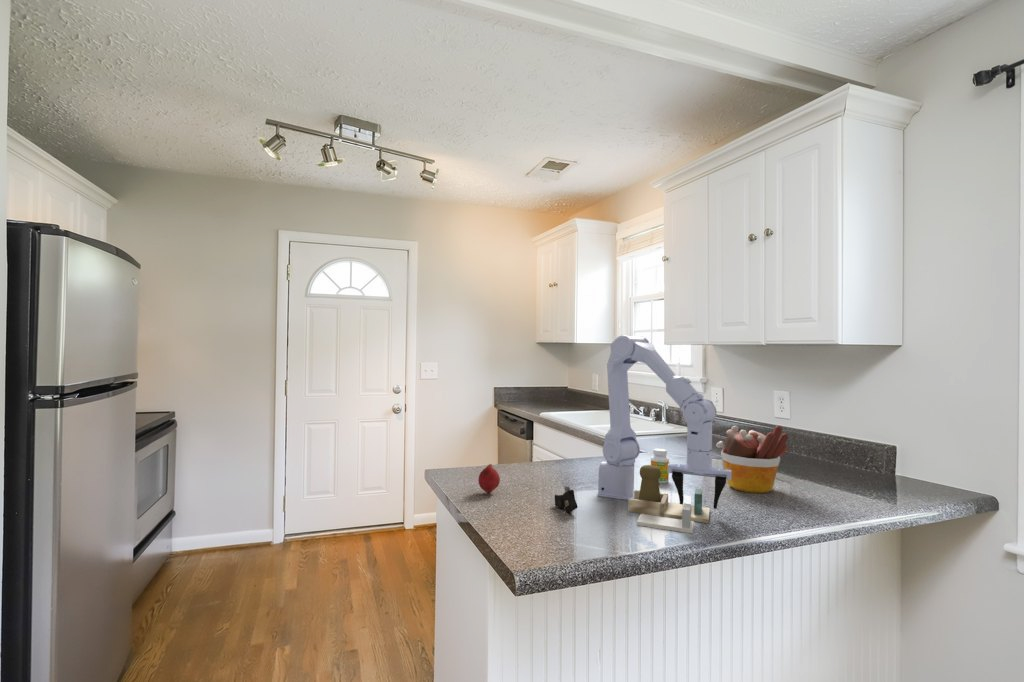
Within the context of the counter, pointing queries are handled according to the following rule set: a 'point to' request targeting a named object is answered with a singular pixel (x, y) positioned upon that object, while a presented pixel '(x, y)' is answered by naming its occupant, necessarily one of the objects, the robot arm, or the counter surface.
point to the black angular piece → (566, 500)
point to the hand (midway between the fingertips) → (698, 505)
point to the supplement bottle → (661, 463)
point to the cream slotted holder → (669, 507)
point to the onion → (489, 479)
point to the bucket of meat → (752, 458)
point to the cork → (650, 483)
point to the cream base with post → (669, 521)
